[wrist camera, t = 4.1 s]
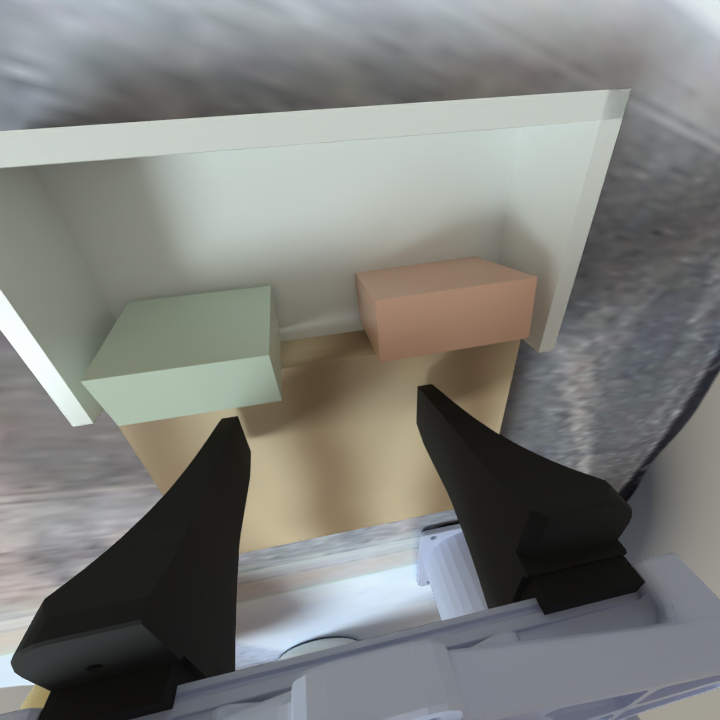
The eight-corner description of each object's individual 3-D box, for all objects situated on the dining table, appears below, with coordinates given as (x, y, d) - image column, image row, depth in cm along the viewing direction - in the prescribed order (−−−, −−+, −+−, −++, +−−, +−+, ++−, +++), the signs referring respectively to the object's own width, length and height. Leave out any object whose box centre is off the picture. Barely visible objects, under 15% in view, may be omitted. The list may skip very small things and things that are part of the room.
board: (491, 307, 15) (522, 332, 13) (465, 469, 22) (483, 503, 20) (128, 358, 14) (99, 396, 12) (213, 517, 20) (204, 560, 18)
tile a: (472, 303, 14) (475, 256, 14) (528, 338, 11) (537, 277, 10) (359, 320, 14) (354, 272, 13) (380, 362, 10) (375, 300, 9)
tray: (532, 105, 11) (631, 88, 8) (497, 306, 15) (553, 350, 12) (8, 143, 10) (-140, 140, 6) (125, 359, 14) (72, 426, 10)
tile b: (280, 328, 14) (270, 285, 12) (281, 400, 11) (268, 355, 10) (153, 344, 13) (128, 301, 12) (118, 426, 10) (80, 381, 9)
